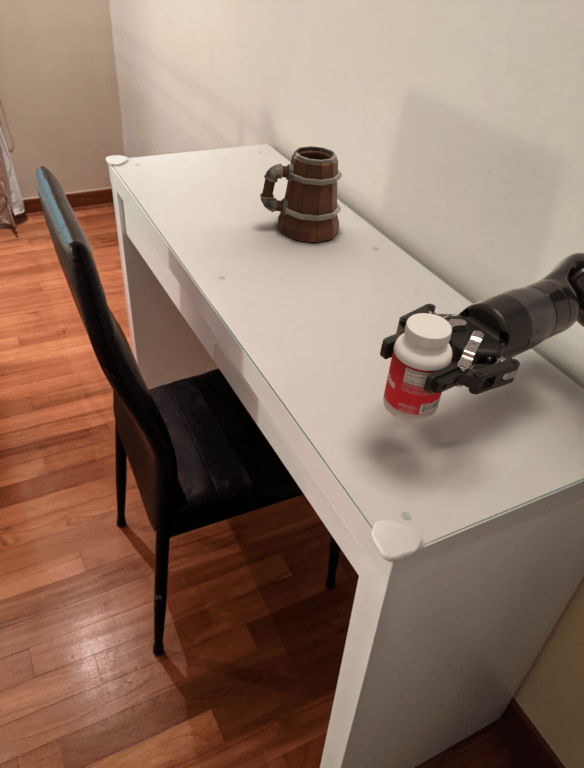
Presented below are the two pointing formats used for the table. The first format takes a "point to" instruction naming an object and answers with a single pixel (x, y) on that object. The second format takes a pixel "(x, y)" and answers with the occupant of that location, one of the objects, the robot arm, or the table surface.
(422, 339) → the pill bottle
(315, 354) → the table surface
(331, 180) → the mug
